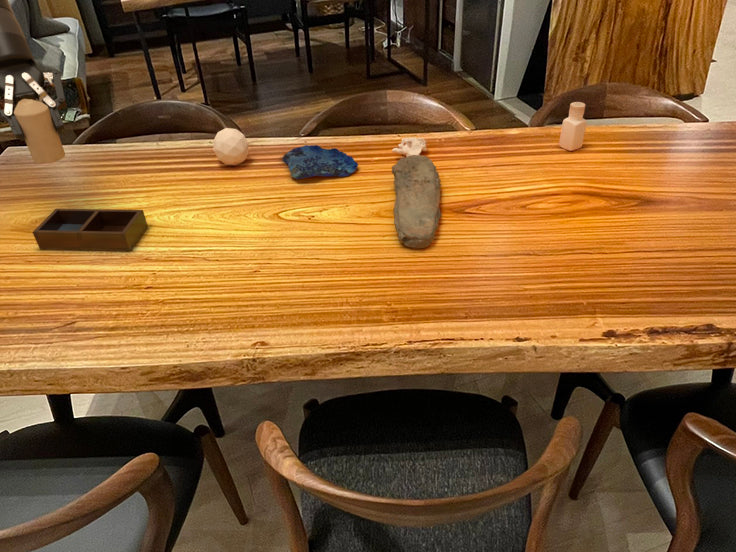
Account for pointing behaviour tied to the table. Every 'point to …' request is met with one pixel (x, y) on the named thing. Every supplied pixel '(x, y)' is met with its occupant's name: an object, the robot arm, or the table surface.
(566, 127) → the pepper shaker
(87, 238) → the box
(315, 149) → the rock
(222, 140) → the geometric ball
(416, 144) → the pelvis model
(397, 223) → the long grey stone
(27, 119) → the candle
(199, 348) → the table surface
